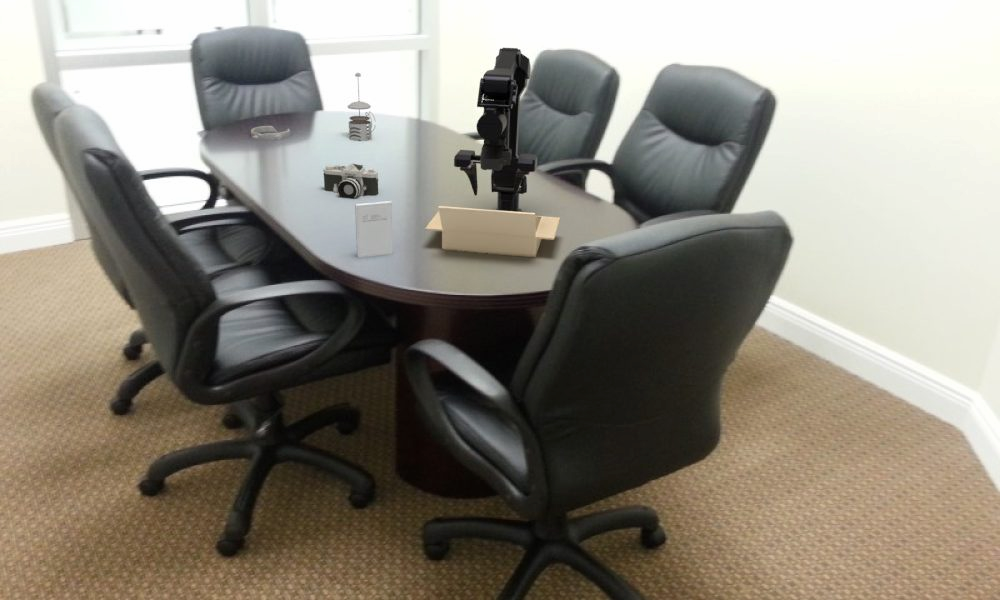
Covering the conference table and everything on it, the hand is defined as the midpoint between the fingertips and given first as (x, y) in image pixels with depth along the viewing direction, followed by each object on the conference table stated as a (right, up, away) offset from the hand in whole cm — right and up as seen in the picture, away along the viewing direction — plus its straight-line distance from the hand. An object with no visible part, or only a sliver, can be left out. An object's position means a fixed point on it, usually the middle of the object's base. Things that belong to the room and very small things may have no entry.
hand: (495, 196), depth 190 cm
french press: (-48, +30, +96) cm, 112 cm away
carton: (0, -10, +5) cm, 12 cm away
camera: (-41, +4, +36) cm, 55 cm away
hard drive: (-27, -14, -6) cm, 31 cm away
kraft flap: (-2, -7, -8) cm, 11 cm away
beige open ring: (-80, +31, +96) cm, 129 cm away
